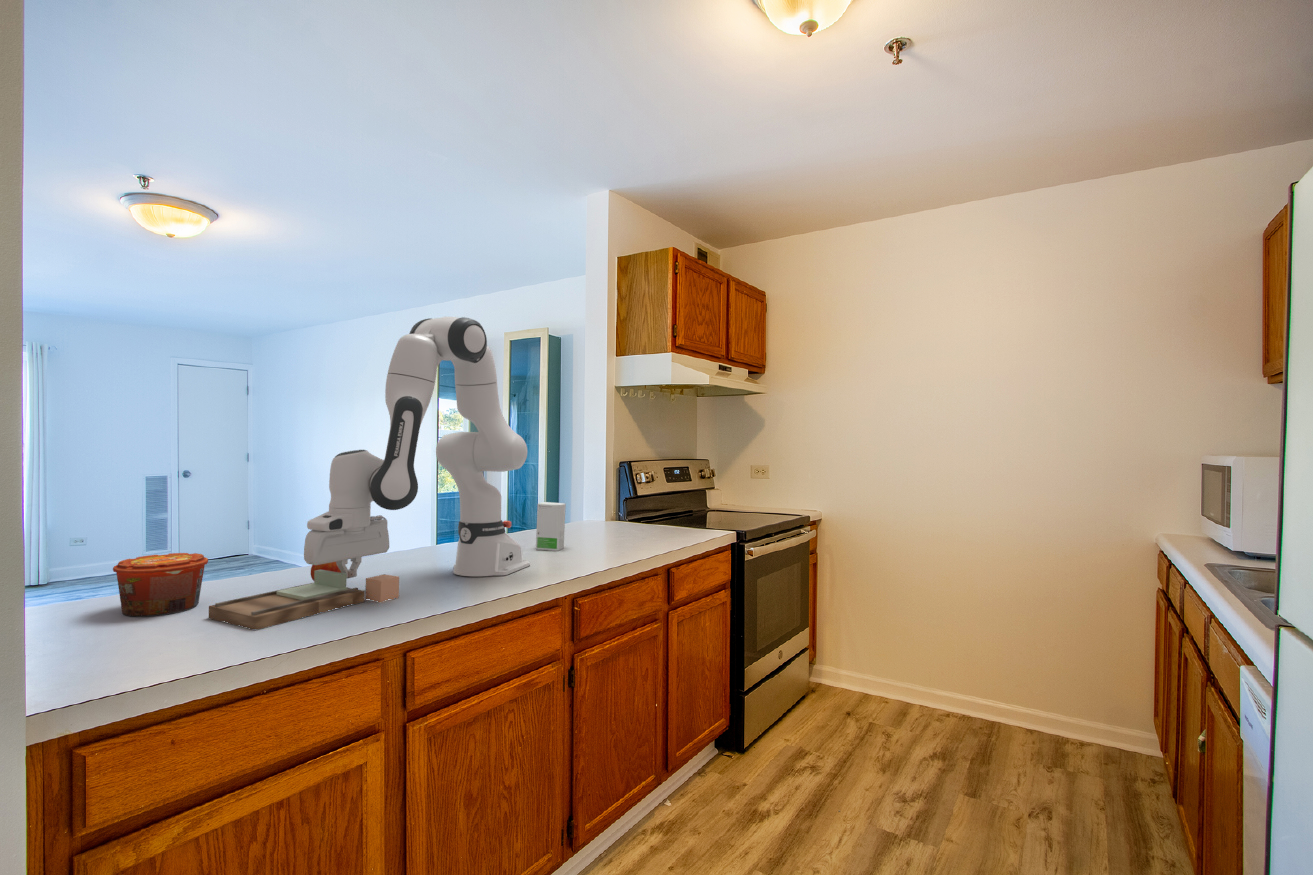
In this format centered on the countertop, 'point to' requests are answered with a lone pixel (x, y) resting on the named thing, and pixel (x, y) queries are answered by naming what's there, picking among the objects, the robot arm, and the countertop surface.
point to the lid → (318, 586)
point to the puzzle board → (279, 607)
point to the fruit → (324, 568)
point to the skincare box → (550, 526)
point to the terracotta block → (382, 587)
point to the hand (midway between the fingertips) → (348, 577)
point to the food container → (160, 583)
